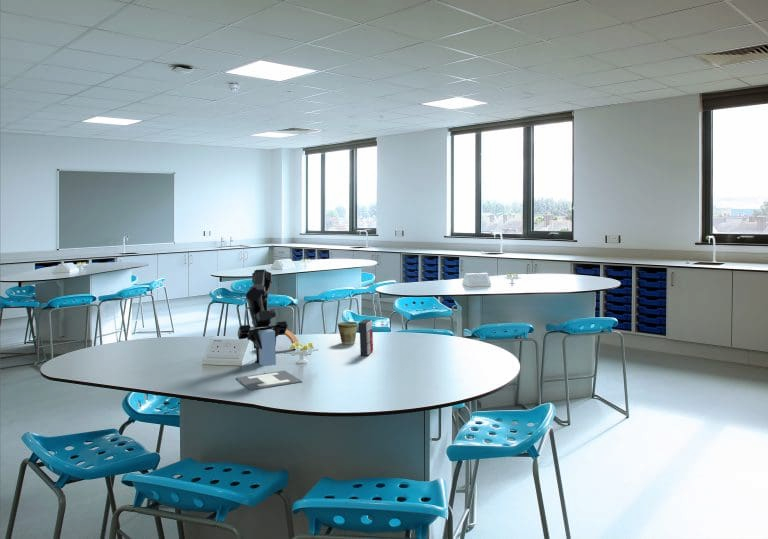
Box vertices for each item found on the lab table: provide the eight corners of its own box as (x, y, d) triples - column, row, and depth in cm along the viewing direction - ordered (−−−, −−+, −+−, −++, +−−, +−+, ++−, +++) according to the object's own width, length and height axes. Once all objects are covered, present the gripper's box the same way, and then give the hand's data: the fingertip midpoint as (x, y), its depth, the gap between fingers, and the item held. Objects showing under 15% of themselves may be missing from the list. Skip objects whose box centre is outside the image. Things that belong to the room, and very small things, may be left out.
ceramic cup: (357, 344, 294) (357, 324, 293) (337, 345, 294) (336, 325, 293) (359, 339, 307) (358, 320, 306) (339, 340, 307) (339, 320, 306)
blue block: (263, 366, 227) (262, 332, 226) (259, 363, 231) (258, 330, 230) (275, 364, 229) (274, 331, 228) (272, 362, 234) (270, 329, 233)
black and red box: (368, 356, 268) (367, 323, 266) (359, 356, 268) (358, 323, 267) (373, 351, 278) (372, 319, 277) (364, 351, 279) (363, 319, 278)
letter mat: (250, 390, 217) (250, 389, 217) (235, 378, 235) (235, 377, 235) (302, 382, 227) (302, 380, 227) (284, 371, 244) (284, 370, 244)
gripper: (238, 304, 227) (247, 338, 219) (285, 300, 236) (295, 332, 228) (233, 322, 235) (242, 355, 226) (279, 317, 244) (289, 349, 235)
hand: (268, 347), depth 229 cm, fingers closed on blue block, 5 cm apart
